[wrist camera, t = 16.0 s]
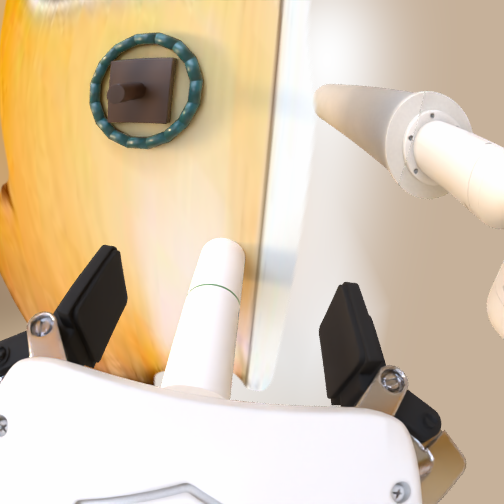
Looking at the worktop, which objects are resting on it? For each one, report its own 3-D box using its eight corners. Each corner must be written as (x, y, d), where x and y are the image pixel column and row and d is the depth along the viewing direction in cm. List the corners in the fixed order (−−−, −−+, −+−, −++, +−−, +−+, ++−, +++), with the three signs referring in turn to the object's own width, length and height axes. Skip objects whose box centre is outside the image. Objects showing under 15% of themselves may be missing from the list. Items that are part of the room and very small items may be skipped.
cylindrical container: (202, 272, 47) (166, 408, 27) (200, 236, 43) (152, 379, 23) (244, 276, 47) (229, 417, 27) (246, 240, 43) (229, 390, 23)
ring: (211, 33, 26) (209, 31, 25) (196, 151, 36) (193, 154, 34) (98, 40, 26) (92, 39, 24) (93, 145, 35) (87, 148, 34)
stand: (176, 58, 28) (155, 54, 22) (169, 121, 33) (148, 132, 27) (116, 61, 28) (86, 61, 22) (112, 120, 33) (83, 131, 27)
